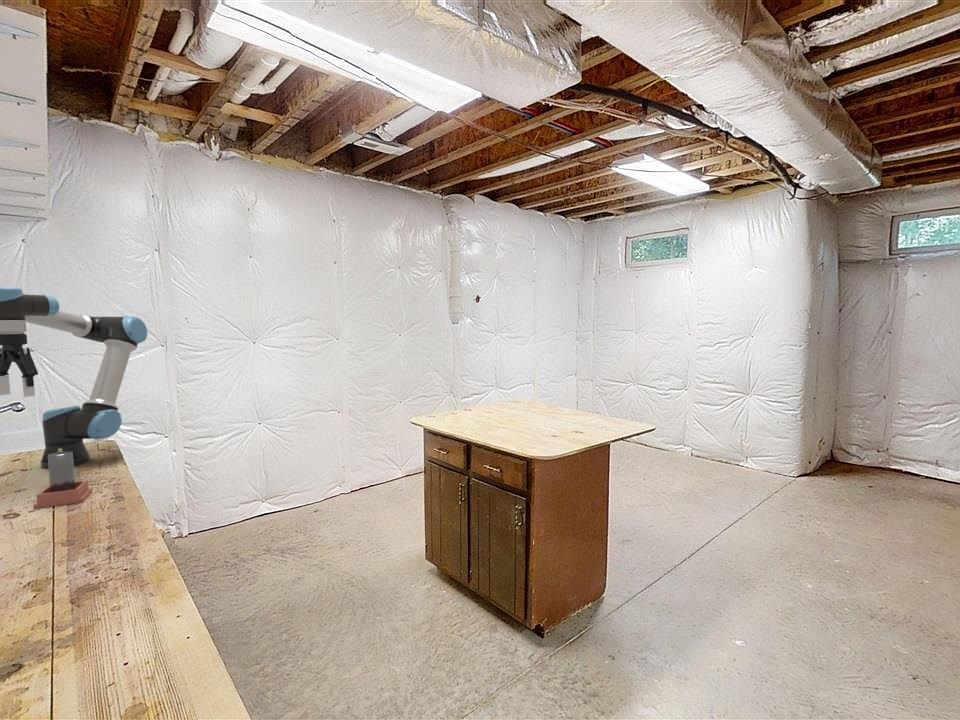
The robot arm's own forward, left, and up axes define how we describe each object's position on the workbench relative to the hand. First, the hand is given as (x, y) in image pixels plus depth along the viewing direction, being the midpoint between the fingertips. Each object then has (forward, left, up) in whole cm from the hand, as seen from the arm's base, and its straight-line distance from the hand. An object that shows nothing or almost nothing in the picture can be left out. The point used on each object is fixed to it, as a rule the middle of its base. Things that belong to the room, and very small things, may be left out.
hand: (17, 395), depth 160 cm
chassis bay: (+20, +16, -33) cm, 42 cm away
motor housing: (+20, +16, -31) cm, 40 cm away
